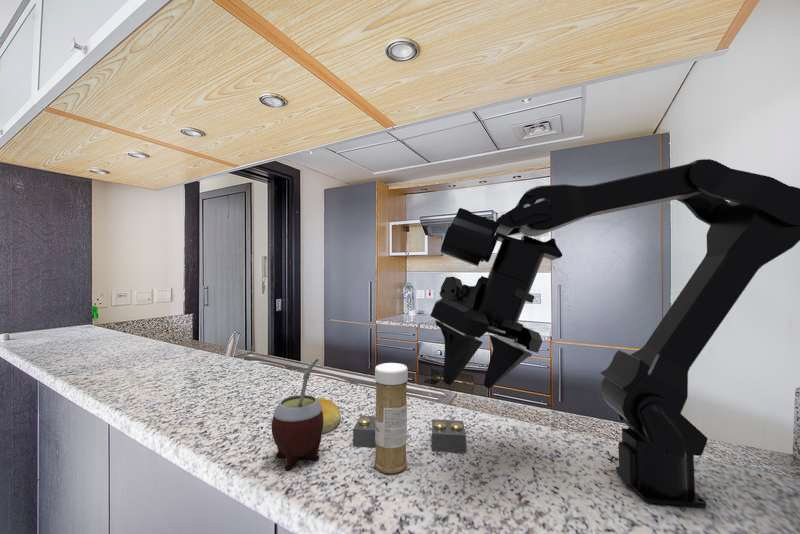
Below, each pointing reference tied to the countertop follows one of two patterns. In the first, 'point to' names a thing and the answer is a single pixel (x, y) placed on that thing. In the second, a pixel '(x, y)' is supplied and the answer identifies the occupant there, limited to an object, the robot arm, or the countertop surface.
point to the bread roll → (329, 415)
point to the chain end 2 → (448, 436)
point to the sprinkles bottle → (391, 417)
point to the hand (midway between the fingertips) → (468, 385)
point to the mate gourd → (298, 426)
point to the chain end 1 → (364, 432)
